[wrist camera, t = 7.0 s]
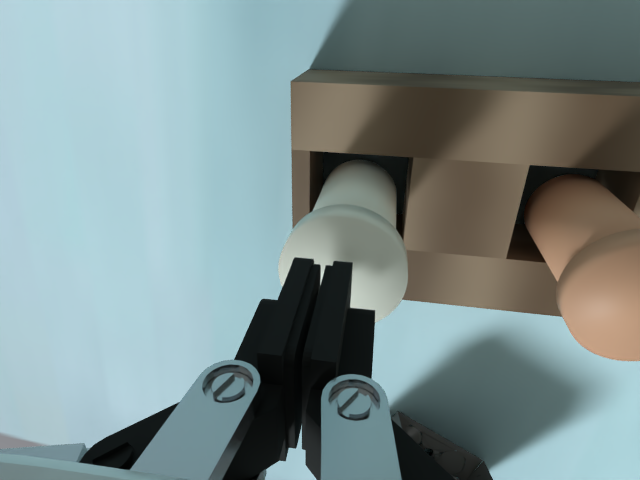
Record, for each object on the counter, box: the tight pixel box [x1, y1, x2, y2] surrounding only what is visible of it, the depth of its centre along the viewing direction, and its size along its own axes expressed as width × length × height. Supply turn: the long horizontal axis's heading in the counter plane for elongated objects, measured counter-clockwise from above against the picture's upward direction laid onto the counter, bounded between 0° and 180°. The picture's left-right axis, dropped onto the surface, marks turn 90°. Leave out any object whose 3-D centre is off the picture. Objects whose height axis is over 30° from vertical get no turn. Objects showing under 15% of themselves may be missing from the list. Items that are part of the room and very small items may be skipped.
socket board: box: [291, 69, 640, 317], centre depth 20 cm, size 24×10×4 cm, turn 89°
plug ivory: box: [278, 160, 408, 322], centre depth 17 cm, size 4×4×7 cm
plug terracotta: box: [524, 174, 640, 361], centre depth 16 cm, size 4×4×7 cm
